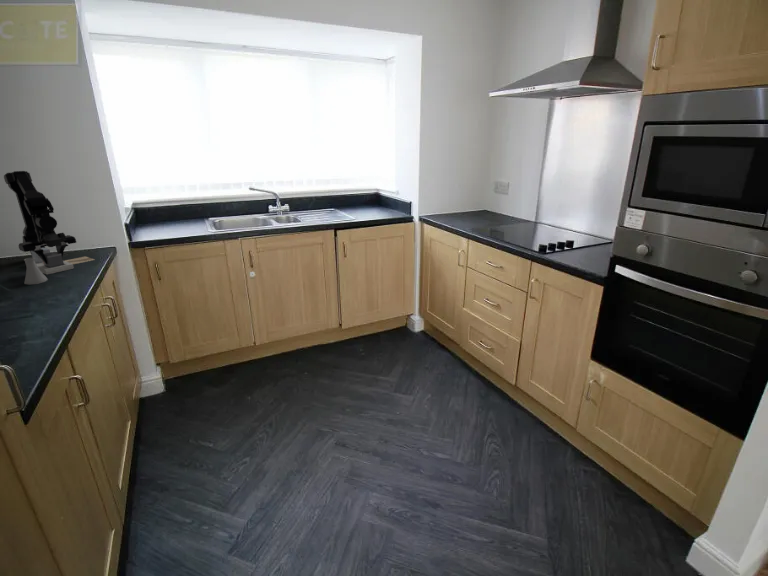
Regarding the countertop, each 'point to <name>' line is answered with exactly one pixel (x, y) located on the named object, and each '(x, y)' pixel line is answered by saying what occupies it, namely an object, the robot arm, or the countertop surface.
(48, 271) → the power strip
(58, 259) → the block
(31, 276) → the flask
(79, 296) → the countertop surface
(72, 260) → the cork pad
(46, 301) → the countertop surface
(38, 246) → the robot arm
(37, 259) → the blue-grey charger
